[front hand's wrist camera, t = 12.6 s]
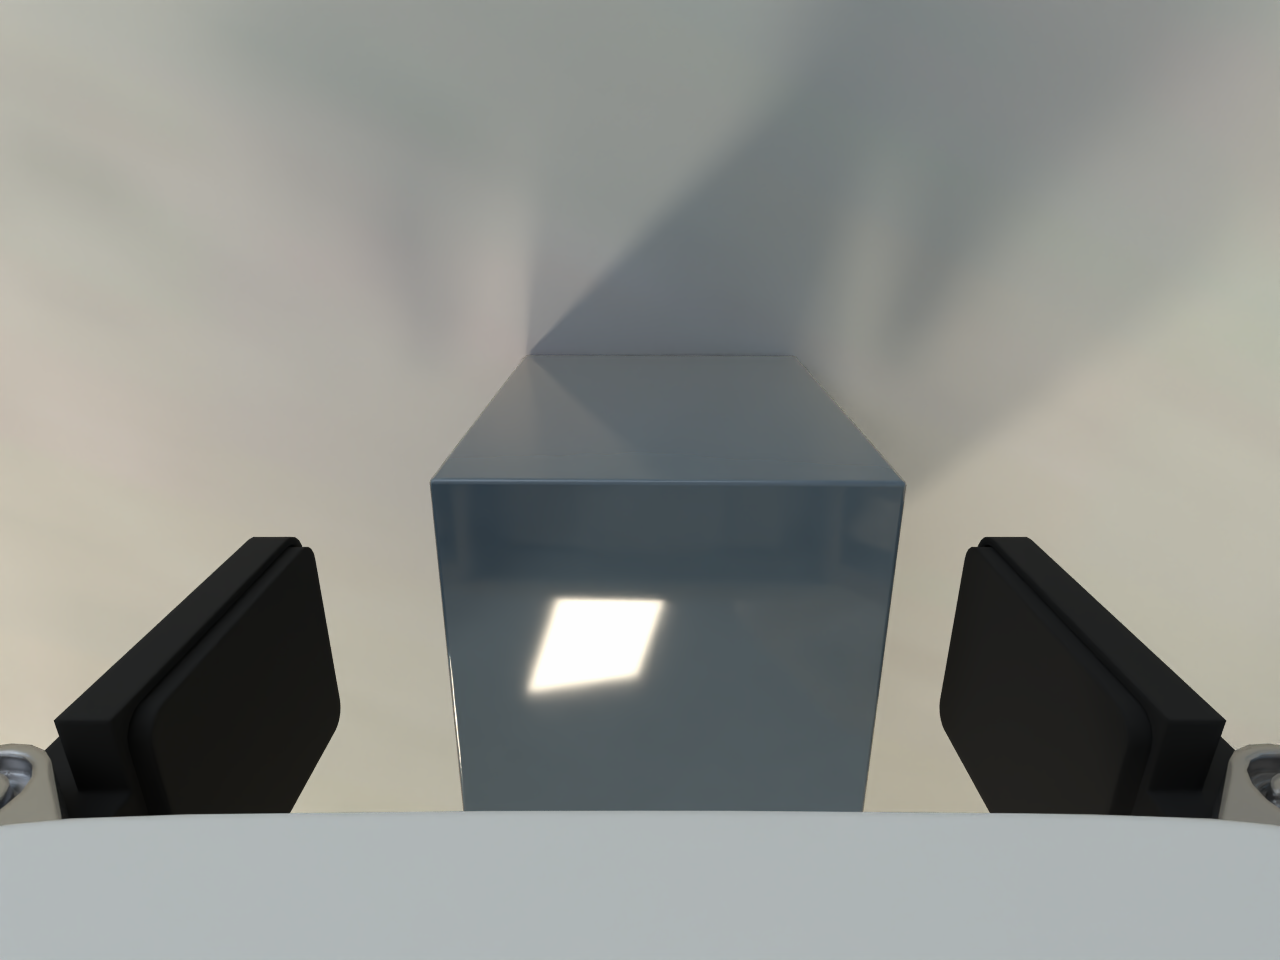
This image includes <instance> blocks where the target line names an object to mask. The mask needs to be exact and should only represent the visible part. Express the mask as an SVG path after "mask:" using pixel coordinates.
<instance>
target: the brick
mask: <svg viewBox="0 0 1280 960" xmlns="http://www.w3.org/2000/svg"><path fill="white" fill-rule="evenodd" d="M430 491H431V500H432V510H433V520H434V530H435V539H436V549H437V559H438V569H439V578H440V588H441V598H442V608H443V617H444V627H445V637H446V647H447V657H448V666H449V676H450V686H451V696H452V705H453V715H454V725H455V735H456V744H457V754H458V764H459V774H460V783H461V793H462V803H463V811H805V812H863V810H864V802H865V795H866V787H867V779H868V772H869V764H870V757H871V749H872V742H873V734H874V726H875V719H876V711H877V704H878V696H879V688H880V681H881V673H882V666H883V658H884V651H885V643H886V635H887V628H888V620H889V613H890V605H891V598H892V590H893V582H894V575H895V567H896V560H897V552H898V545H899V537H900V529H901V522H902V514H903V507H904V499H905V492H906V483H905V481H904V480H903V479H902V478H901V476H900V475H899V474H898V473H897V472H896V471H895V470H894V468H893V467H892V466H891V465H890V464H889V463H888V462H887V460H886V459H885V458H884V457H883V456H882V455H881V454H880V452H879V451H878V450H877V449H876V448H875V447H874V446H873V444H872V443H871V442H870V441H869V440H868V439H867V438H866V436H865V435H864V434H863V433H862V432H861V431H860V430H859V429H858V427H857V426H856V425H855V424H854V423H853V422H852V421H851V419H850V418H849V417H848V416H847V415H846V414H845V413H844V411H843V410H842V409H841V408H840V407H839V406H838V405H837V403H836V402H835V401H834V400H833V399H832V398H831V397H830V395H829V394H828V393H827V392H826V391H825V390H824V389H823V387H822V386H821V385H820V384H819V383H818V382H817V381H816V379H815V378H814V377H813V376H812V375H811V374H810V373H809V371H808V370H807V369H806V368H805V367H804V366H803V365H802V363H801V362H800V361H799V360H798V359H797V358H796V357H795V356H677V355H526V356H525V357H524V358H523V360H522V361H521V362H520V364H519V365H518V366H517V368H516V369H515V370H514V372H513V373H512V374H511V375H510V377H509V378H508V379H507V381H506V382H505V383H504V385H503V386H502V387H501V388H500V390H499V391H498V392H497V394H496V395H495V396H494V398H493V399H492V400H491V401H490V403H489V404H488V405H487V407H486V408H485V409H484V411H483V412H482V413H481V414H480V416H479V417H478V418H477V420H476V421H475V422H474V424H473V425H472V426H471V428H470V429H469V430H468V431H467V433H466V434H465V435H464V437H463V438H462V439H461V441H460V442H459V443H458V444H457V446H456V447H455V448H454V450H453V451H452V452H451V454H450V455H449V456H448V457H447V459H446V460H445V461H444V463H443V464H442V465H441V467H440V468H439V469H438V470H437V472H436V473H435V474H434V476H433V477H432V478H431V480H430Z"/></svg>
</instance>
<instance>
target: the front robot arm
mask: <svg viewBox="0 0 1280 960" xmlns="http://www.w3.org/2000/svg"><path fill="white" fill-rule="evenodd" d="M339 717H340V698H339V692H338V687H337V681H336V675H335V669H334V664H333V658H332V652H331V647H330V641H329V635H328V629H327V624H326V618H325V612H324V607H323V601H322V595H321V590H320V584H319V578H318V572H317V567H316V561H315V557H314V553H313V551H312V549H310V548H309V547H302V545H301V543H300V541H299V540H298V539H297V538H295V537H253V538H251V539H249V540H248V541H247V542H246V543H245V544H244V545H243V546H241V547H240V548H239V549H238V550H237V551H236V552H235V553H234V554H233V555H232V556H231V557H230V558H228V559H227V560H226V561H225V562H224V563H223V564H222V565H221V566H220V567H219V568H218V569H217V570H216V571H214V572H213V573H212V574H211V575H210V576H209V577H208V578H207V579H206V580H205V581H204V582H203V583H202V584H200V585H199V586H198V587H197V588H196V589H195V590H194V591H193V592H192V593H191V594H190V595H189V596H188V597H186V598H185V599H184V600H183V601H182V602H181V603H180V604H179V605H178V606H177V607H176V608H175V609H174V610H172V611H171V612H170V613H169V614H168V615H167V616H166V617H165V618H164V619H163V620H162V621H161V622H160V623H158V624H157V625H156V626H155V627H154V628H153V629H152V630H151V631H150V632H149V633H148V634H147V635H146V636H144V637H143V638H142V639H141V640H140V641H139V642H138V643H137V644H136V645H135V646H134V647H133V648H132V649H130V650H129V651H128V652H127V653H126V654H125V655H124V656H123V657H122V658H121V659H120V660H119V661H117V662H116V663H115V664H114V665H113V666H112V667H111V668H110V669H109V670H108V671H107V672H106V673H105V674H103V675H102V676H101V677H100V678H99V679H98V680H97V681H96V682H95V683H94V684H93V685H92V686H91V687H89V688H88V689H87V690H86V691H85V692H84V693H83V694H82V695H81V696H80V697H79V698H78V699H77V700H75V701H74V702H73V703H72V704H71V705H70V706H69V707H68V708H67V709H66V710H65V711H64V712H63V713H61V714H60V715H59V716H58V717H57V718H56V719H55V720H54V723H55V725H56V728H57V731H58V734H59V737H58V738H57V739H56V740H55V741H54V742H53V743H52V744H51V745H50V746H49V747H48V748H47V749H46V750H42V749H40V748H38V747H35V746H33V745H26V744H5V745H0V960H1280V745H1275V744H1254V745H1247V746H1245V747H1242V748H1240V749H1238V750H1234V749H1233V748H1232V747H1231V746H1230V745H1229V744H1228V743H1227V742H1226V741H1225V740H1224V739H1223V738H1222V737H1221V734H1222V731H1223V728H1224V725H1225V723H1226V720H1225V719H1224V718H1223V717H1222V716H1221V715H1220V714H1219V713H1217V712H1216V711H1215V710H1214V709H1213V708H1212V707H1211V706H1210V705H1209V704H1208V703H1207V702H1206V701H1205V700H1203V699H1202V698H1201V697H1200V696H1199V695H1198V694H1197V693H1196V692H1195V691H1194V690H1193V689H1192V688H1191V687H1189V686H1188V685H1187V684H1186V683H1185V682H1184V681H1183V680H1182V679H1181V678H1180V677H1179V676H1178V675H1177V674H1175V673H1174V672H1173V671H1172V670H1171V669H1170V668H1169V667H1168V666H1167V665H1166V664H1165V663H1164V662H1162V661H1161V660H1160V659H1159V658H1158V657H1157V656H1156V655H1155V654H1154V653H1153V652H1152V651H1151V650H1150V649H1148V648H1147V647H1146V646H1145V645H1144V644H1143V643H1142V642H1141V641H1140V640H1139V639H1138V638H1137V637H1136V636H1134V635H1133V634H1132V633H1131V632H1130V631H1129V630H1128V629H1127V628H1126V627H1125V626H1124V625H1123V624H1122V623H1120V622H1119V621H1118V620H1117V619H1116V618H1115V617H1114V616H1113V615H1112V614H1111V613H1110V612H1109V611H1108V610H1106V609H1105V608H1104V607H1103V606H1102V605H1101V604H1100V603H1099V602H1098V601H1097V600H1096V599H1095V598H1094V597H1092V596H1091V595H1090V594H1089V593H1088V592H1087V591H1086V590H1085V589H1084V588H1083V587H1082V586H1081V585H1080V584H1078V583H1077V582H1076V581H1075V580H1074V579H1073V578H1072V577H1071V576H1070V575H1069V574H1068V573H1067V572H1066V571H1064V570H1063V569H1062V568H1061V567H1060V566H1059V565H1058V564H1057V563H1056V562H1055V561H1054V560H1053V559H1052V558H1050V557H1049V556H1048V555H1047V554H1046V553H1045V552H1044V551H1043V550H1042V549H1041V548H1040V547H1039V546H1037V545H1036V544H1035V543H1034V542H1033V541H1032V540H1031V539H1029V538H1027V537H985V538H983V539H982V540H981V541H980V543H979V545H978V547H971V548H970V549H968V551H967V553H966V557H965V561H964V567H963V572H962V578H961V584H960V589H959V595H958V601H957V607H956V612H955V618H954V624H953V629H952V635H951V641H950V647H949V652H948V658H947V664H946V669H945V675H944V681H943V687H942V692H941V698H940V718H941V722H942V726H943V728H944V730H945V732H946V734H947V736H948V737H949V739H950V741H951V743H952V745H953V747H954V748H955V750H956V752H957V754H958V756H959V757H960V759H961V761H962V763H963V765H964V767H965V768H966V770H967V772H968V774H969V776H970V777H971V779H972V781H973V783H974V785H975V787H976V788H977V790H978V792H979V794H980V796H981V797H982V799H983V801H984V803H985V805H986V807H987V808H988V810H989V812H990V813H916V812H805V811H450V812H362V813H290V812H291V810H292V808H293V807H294V805H295V803H296V801H297V799H298V797H299V796H300V794H301V792H302V790H303V788H304V787H305V785H306V783H307V781H308V779H309V777H310V776H311V774H312V772H313V770H314V768H315V767H316V765H317V763H318V761H319V759H320V757H321V756H322V754H323V752H324V750H325V748H326V747H327V745H328V743H329V741H330V739H331V737H332V736H333V734H334V732H335V730H336V728H337V726H338V722H339Z"/></svg>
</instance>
